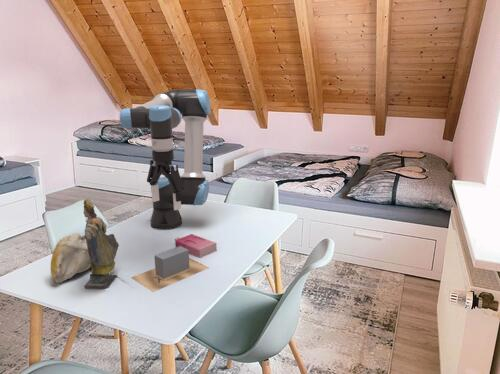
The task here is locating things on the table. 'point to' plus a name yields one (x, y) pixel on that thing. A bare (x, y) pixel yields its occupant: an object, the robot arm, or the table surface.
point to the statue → (99, 249)
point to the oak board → (156, 283)
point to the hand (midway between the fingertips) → (166, 205)
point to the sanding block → (172, 263)
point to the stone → (69, 258)
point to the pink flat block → (196, 245)
